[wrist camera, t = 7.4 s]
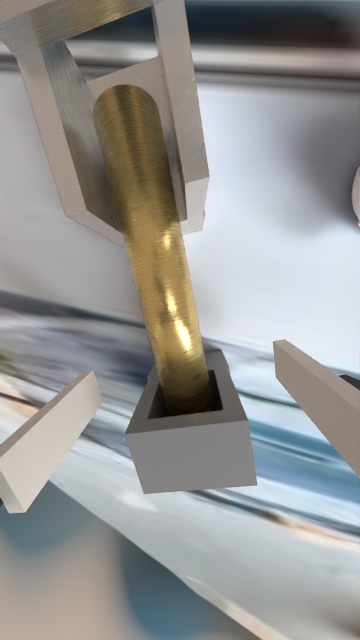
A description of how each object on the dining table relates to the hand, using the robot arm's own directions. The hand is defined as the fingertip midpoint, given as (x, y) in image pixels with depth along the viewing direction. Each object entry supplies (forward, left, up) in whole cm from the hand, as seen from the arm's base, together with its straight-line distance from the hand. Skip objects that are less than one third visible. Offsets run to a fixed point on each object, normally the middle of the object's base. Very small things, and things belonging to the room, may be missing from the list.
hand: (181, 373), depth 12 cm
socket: (+5, 0, -8) cm, 9 cm away
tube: (-5, 0, -4) cm, 7 cm away
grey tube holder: (-16, 0, -8) cm, 18 cm away
